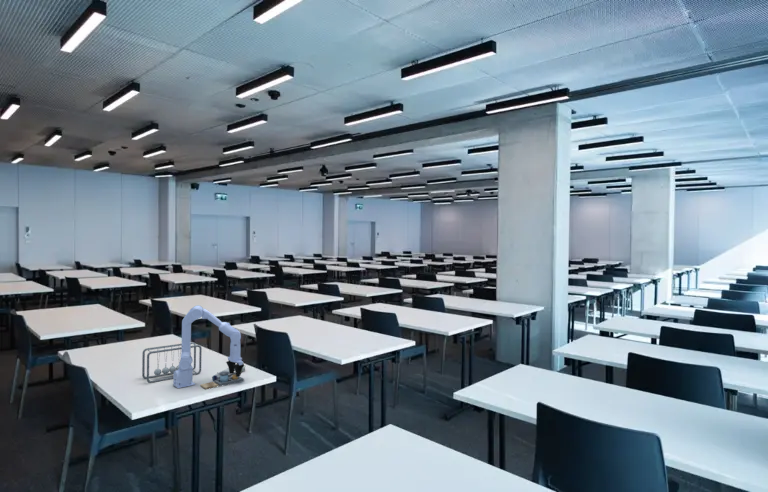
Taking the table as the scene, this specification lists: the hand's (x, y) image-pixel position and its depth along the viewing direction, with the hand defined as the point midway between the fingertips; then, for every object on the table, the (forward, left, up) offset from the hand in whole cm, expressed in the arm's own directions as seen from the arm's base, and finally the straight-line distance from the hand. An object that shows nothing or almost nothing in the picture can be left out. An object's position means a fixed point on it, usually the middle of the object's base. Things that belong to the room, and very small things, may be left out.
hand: (234, 374), depth 257 cm
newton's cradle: (-24, +32, -4) cm, 39 cm away
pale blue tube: (+2, +11, -4) cm, 12 cm away
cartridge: (-6, 0, -3) cm, 7 cm away
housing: (-4, 0, -3) cm, 5 cm away
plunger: (0, 0, -3) cm, 3 cm away
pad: (-15, 0, -3) cm, 15 cm away
